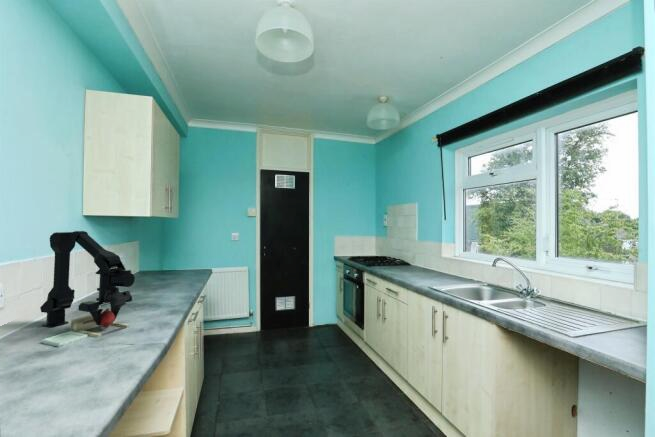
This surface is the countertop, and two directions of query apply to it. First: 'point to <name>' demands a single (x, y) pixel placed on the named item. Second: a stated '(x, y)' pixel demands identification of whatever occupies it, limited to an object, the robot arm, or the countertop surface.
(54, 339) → the tray
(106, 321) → the onion
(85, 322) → the open rectangular frame
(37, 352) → the countertop surface
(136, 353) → the countertop surface
